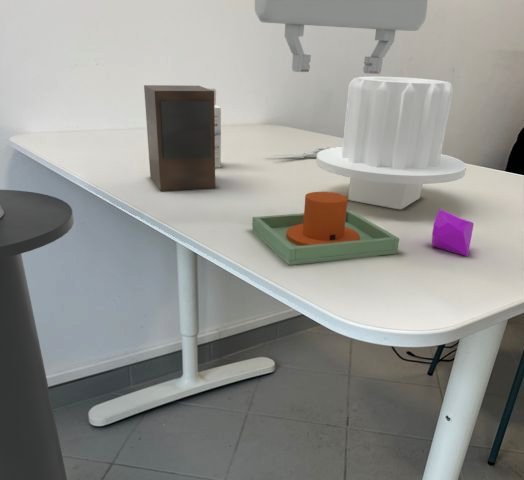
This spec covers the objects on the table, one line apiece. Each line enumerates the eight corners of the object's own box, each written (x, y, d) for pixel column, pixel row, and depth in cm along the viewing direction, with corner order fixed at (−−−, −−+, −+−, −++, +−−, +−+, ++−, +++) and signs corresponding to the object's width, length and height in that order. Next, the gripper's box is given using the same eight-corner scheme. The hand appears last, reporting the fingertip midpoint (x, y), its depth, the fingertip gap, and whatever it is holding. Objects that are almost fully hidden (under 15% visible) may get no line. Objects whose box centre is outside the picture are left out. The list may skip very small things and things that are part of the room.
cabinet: (161, 191, 94) (154, 90, 86) (150, 178, 103) (143, 85, 94) (215, 188, 97) (214, 91, 89) (201, 175, 106) (199, 85, 98)
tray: (288, 265, 66) (289, 249, 65) (252, 231, 77) (252, 216, 76) (397, 253, 71) (399, 238, 70) (348, 223, 82) (349, 209, 81)
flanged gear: (431, 230, 80) (459, 90, 71) (287, 201, 92) (294, 77, 82) (473, 196, 99) (500, 82, 89) (349, 176, 110) (360, 72, 100)
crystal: (427, 251, 72) (434, 217, 70) (432, 239, 77) (439, 207, 74) (467, 257, 71) (475, 223, 68) (470, 245, 75) (478, 212, 73)
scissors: (355, 154, 126) (284, 160, 116) (355, 158, 126) (284, 164, 117) (328, 147, 133) (259, 151, 124) (328, 150, 134) (259, 155, 125)
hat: (304, 253, 68) (307, 209, 65) (275, 229, 76) (277, 189, 73) (373, 246, 71) (379, 204, 68) (338, 224, 79) (342, 185, 76)
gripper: (417, -61, 62) (397, 72, 69) (251, -82, 56) (247, 68, 63) (452, -68, 57) (426, 76, 64) (274, -92, 51) (267, 72, 58)
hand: (336, 72), depth 63 cm, fingers open, 8 cm apart
